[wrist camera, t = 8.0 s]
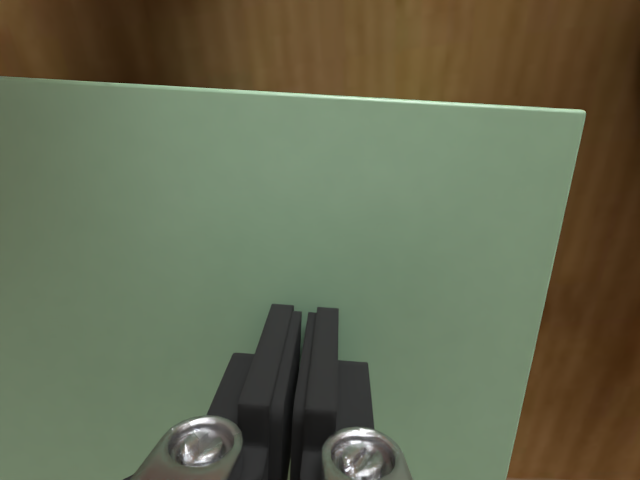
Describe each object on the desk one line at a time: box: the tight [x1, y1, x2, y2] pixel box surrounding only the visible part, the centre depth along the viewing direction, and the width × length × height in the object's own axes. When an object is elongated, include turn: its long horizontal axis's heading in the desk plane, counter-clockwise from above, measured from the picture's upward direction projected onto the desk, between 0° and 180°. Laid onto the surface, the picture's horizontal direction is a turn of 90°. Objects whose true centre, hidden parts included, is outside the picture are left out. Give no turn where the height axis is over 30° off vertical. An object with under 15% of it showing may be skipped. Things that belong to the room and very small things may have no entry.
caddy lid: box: [0, 76, 586, 480], centre depth 12 cm, size 16×13×1 cm
